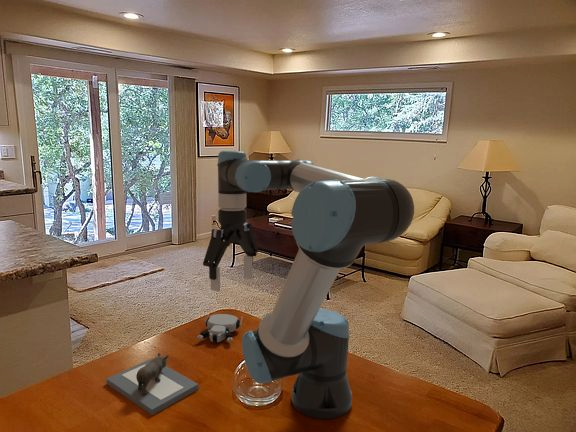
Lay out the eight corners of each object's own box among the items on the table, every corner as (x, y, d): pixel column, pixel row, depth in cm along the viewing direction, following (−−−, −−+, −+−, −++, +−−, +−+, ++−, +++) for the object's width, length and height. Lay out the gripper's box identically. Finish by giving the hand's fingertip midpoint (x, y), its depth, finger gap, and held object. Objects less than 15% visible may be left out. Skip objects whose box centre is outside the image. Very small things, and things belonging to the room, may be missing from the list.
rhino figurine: (174, 368, 120) (174, 347, 119) (147, 396, 107) (146, 374, 106) (161, 365, 121) (160, 345, 120) (132, 393, 108) (131, 371, 107)
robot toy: (233, 349, 136) (243, 325, 151) (233, 336, 135) (243, 313, 150) (195, 346, 138) (208, 323, 152) (194, 333, 137) (208, 311, 151)
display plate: (198, 389, 113) (198, 383, 113) (152, 415, 102) (152, 409, 102) (152, 362, 125) (152, 357, 125) (106, 383, 114) (106, 378, 114)
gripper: (250, 202, 130) (250, 271, 134) (188, 212, 110) (189, 293, 113) (270, 205, 126) (269, 275, 129) (209, 216, 106) (210, 299, 109)
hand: (232, 284), depth 121 cm, fingers open, 13 cm apart
